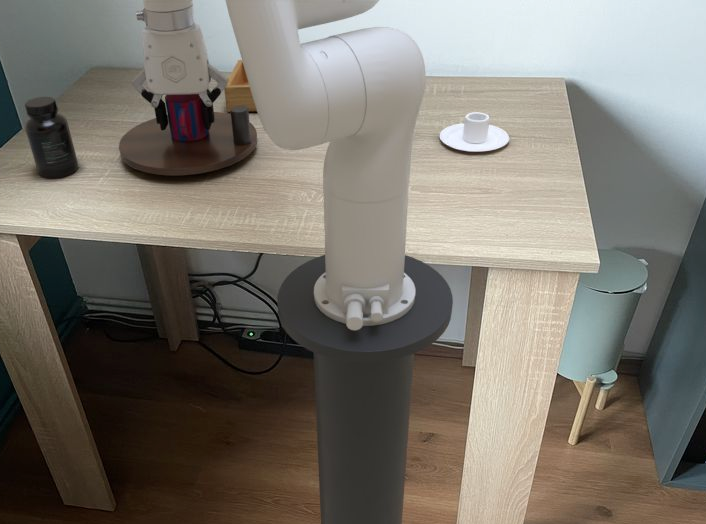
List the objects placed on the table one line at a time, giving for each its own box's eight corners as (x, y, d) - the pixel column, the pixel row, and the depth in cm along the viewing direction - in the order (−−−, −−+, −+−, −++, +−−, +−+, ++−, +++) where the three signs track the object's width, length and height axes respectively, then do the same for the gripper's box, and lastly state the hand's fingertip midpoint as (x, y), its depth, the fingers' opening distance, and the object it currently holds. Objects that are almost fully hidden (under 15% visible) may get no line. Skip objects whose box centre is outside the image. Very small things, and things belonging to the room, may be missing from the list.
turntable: (249, 174, 118) (245, 133, 113) (104, 176, 119) (95, 136, 115) (263, 116, 136) (260, 78, 132) (137, 118, 138) (130, 81, 133)
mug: (212, 126, 130) (207, 88, 126) (201, 150, 123) (195, 110, 118) (176, 126, 131) (169, 88, 127) (162, 150, 123) (155, 110, 119)
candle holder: (461, 160, 122) (464, 136, 119) (427, 134, 131) (428, 110, 128) (522, 147, 125) (526, 122, 122) (484, 122, 134) (487, 98, 131)
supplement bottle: (39, 164, 127) (19, 97, 120) (78, 159, 129) (61, 91, 121) (37, 181, 122) (16, 112, 115) (79, 175, 123) (61, 106, 116)
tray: (226, 113, 142) (223, 84, 138) (240, 85, 153) (238, 57, 150) (384, 114, 138) (385, 84, 135) (386, 85, 150) (387, 57, 146)
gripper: (110, 26, 112) (132, 136, 123) (221, 23, 111) (233, 135, 122) (121, 12, 118) (142, 119, 129) (228, 9, 117) (239, 117, 128)
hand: (186, 126), depth 126 cm, fingers open, 7 cm apart
